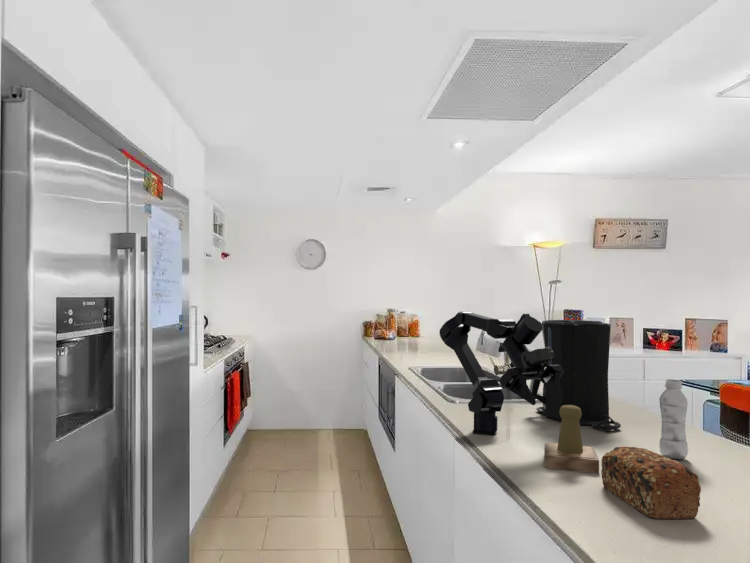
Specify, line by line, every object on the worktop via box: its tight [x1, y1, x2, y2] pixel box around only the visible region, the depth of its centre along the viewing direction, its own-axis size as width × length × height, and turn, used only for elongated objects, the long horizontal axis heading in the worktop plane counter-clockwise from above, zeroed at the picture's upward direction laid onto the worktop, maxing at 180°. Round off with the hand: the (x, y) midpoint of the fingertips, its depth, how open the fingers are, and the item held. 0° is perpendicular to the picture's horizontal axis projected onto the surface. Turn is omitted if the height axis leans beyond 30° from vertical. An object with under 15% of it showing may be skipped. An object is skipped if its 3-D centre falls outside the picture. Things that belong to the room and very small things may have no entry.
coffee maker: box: [529, 319, 622, 433], centre depth 185 cm, size 23×32×34 cm
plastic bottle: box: [658, 378, 689, 460], centre depth 141 cm, size 6×7×20 cm
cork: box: [557, 405, 583, 454], centre depth 135 cm, size 6×6×11 cm
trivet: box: [543, 442, 600, 474], centre depth 135 cm, size 12×12×3 cm
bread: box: [600, 446, 702, 520], centre depth 110 cm, size 19×11×10 cm, turn 4°
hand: (548, 402), depth 142 cm, fingers open, 9 cm apart
